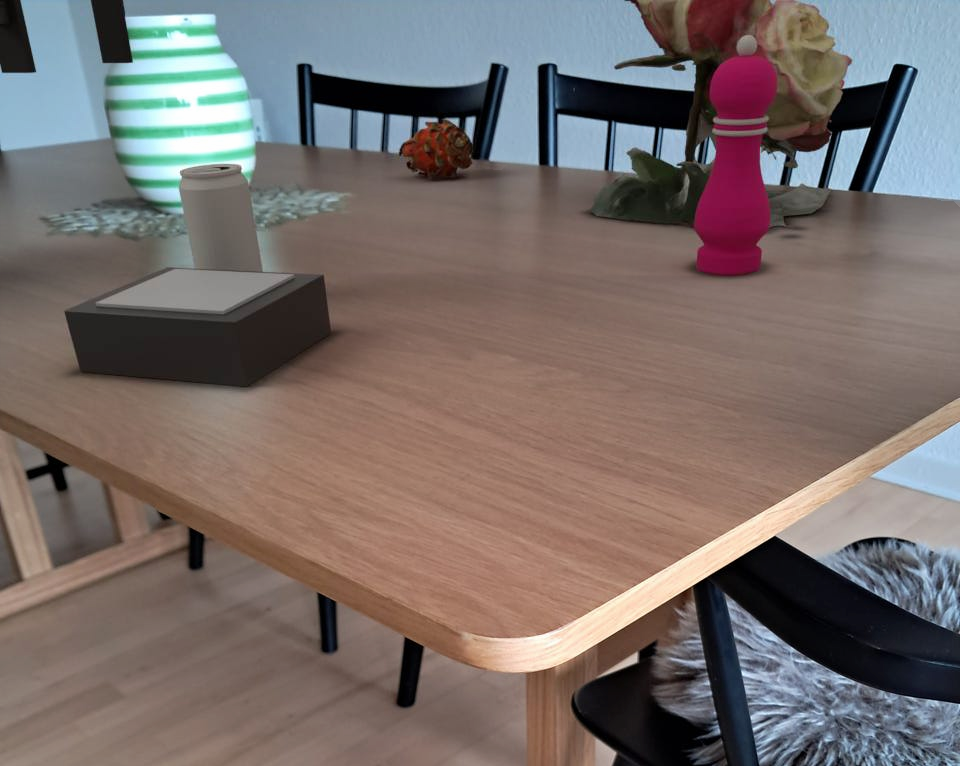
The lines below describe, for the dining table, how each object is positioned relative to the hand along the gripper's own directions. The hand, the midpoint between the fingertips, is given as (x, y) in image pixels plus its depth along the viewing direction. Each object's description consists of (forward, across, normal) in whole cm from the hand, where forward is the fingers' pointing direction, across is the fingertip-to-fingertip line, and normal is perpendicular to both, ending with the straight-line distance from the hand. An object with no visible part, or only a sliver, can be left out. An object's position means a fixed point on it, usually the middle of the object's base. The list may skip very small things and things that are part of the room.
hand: (71, 68), depth 86 cm
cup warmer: (+21, -10, -15) cm, 27 cm away
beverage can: (+20, +6, -9) cm, 23 cm away
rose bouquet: (+18, +53, -52) cm, 77 cm away
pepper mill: (+19, +23, -55) cm, 63 cm away
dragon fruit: (+19, +73, -7) cm, 76 cm away
